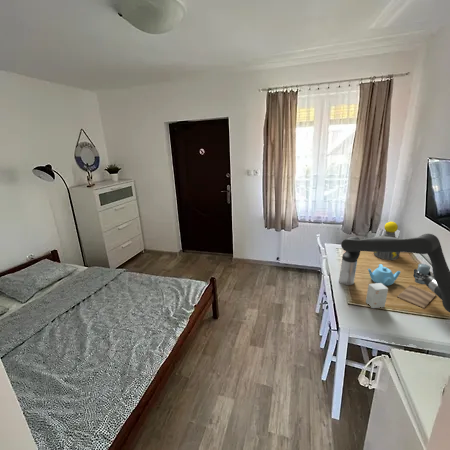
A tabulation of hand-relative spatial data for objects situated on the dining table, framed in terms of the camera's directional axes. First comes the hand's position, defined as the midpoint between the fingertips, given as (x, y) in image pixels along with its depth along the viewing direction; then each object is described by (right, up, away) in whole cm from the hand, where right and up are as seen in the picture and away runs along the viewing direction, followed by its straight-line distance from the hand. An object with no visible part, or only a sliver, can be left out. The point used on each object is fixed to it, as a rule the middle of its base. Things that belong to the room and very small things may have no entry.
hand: (420, 270), depth 152 cm
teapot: (-10, -12, +21) cm, 26 cm away
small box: (-30, -20, -2) cm, 36 cm away
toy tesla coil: (+15, +2, +56) cm, 58 cm away
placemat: (0, -17, +3) cm, 17 cm away
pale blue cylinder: (0, -7, 0) cm, 7 cm away
